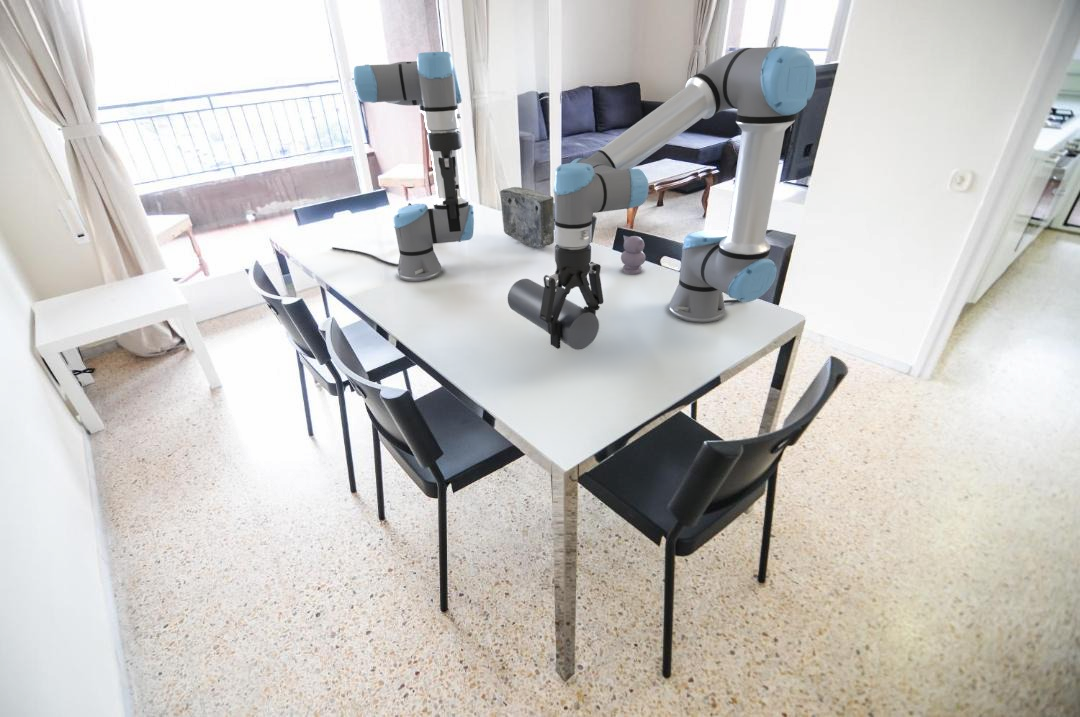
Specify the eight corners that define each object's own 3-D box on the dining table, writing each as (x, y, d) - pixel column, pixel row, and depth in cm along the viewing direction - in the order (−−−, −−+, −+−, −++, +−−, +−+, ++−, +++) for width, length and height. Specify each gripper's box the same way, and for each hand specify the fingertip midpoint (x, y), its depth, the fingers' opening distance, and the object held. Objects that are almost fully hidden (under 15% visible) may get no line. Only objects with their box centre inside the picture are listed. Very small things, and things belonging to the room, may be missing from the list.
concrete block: (559, 249, 192) (558, 197, 182) (540, 255, 188) (538, 201, 178) (520, 233, 211) (518, 185, 200) (503, 238, 207) (499, 188, 196)
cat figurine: (649, 270, 171) (652, 236, 165) (636, 276, 167) (638, 242, 160) (628, 264, 176) (630, 231, 170) (615, 271, 172) (617, 237, 165)
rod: (508, 315, 126) (506, 283, 122) (536, 306, 131) (536, 275, 126) (567, 355, 109) (568, 319, 105) (598, 343, 113) (599, 308, 109)
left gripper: (461, 137, 103) (471, 237, 114) (458, 123, 124) (468, 209, 136) (424, 139, 102) (439, 239, 114) (428, 125, 124) (440, 211, 135)
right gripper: (540, 260, 94) (543, 361, 106) (624, 238, 105) (618, 332, 116) (519, 250, 100) (523, 347, 111) (600, 230, 110) (597, 320, 122)
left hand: (454, 223), depth 125 cm, fingers open, 13 cm apart
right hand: (572, 339), depth 114 cm, fingers closed on rod, 9 cm apart
